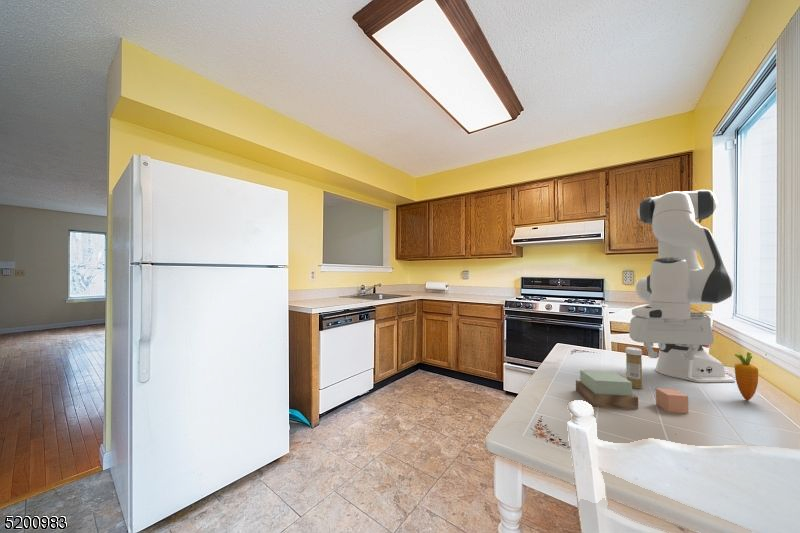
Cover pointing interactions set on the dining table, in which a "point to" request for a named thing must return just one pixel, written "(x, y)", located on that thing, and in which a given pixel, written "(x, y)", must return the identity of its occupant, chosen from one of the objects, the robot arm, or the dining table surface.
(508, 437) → the dining table surface
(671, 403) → the terracotta block
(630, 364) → the sprinkles bottle
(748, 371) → the carrot
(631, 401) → the tower base
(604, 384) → the tower top
